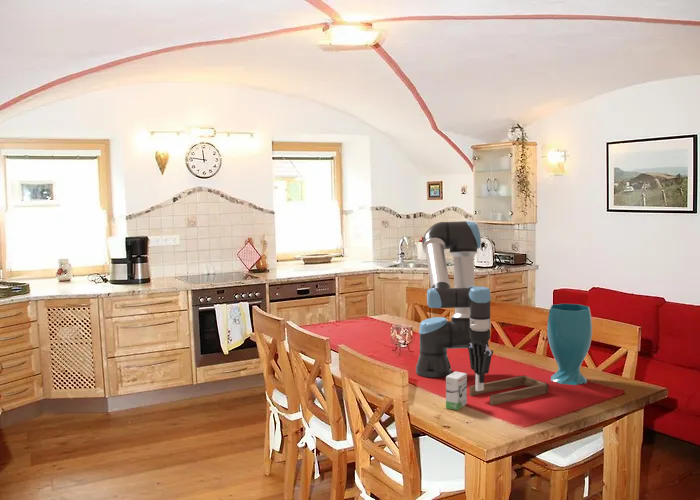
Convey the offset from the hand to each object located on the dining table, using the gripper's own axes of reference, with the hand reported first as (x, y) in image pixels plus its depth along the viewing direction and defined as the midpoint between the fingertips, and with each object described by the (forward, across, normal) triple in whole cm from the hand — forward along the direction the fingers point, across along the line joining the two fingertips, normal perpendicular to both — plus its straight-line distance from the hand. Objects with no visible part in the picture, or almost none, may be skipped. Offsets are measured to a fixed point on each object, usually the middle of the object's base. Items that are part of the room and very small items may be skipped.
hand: (479, 390), depth 248 cm
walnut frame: (+4, +1, +14) cm, 14 cm away
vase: (+5, -2, +47) cm, 47 cm away
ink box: (+4, +1, -12) cm, 12 cm away
